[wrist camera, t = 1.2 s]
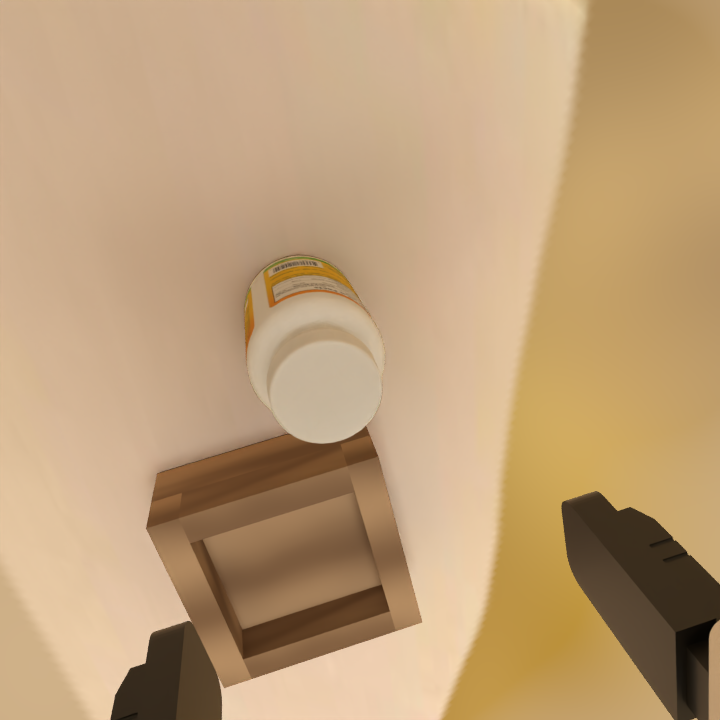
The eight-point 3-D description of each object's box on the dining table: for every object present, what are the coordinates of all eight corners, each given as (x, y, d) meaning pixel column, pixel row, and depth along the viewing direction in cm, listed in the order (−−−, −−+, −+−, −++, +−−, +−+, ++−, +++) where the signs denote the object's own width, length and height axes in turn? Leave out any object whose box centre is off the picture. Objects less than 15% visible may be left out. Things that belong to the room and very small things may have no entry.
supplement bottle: (306, 378, 32) (334, 487, 23) (220, 316, 30) (214, 409, 21) (376, 299, 31) (434, 382, 22) (293, 229, 29) (319, 288, 20)
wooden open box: (157, 473, 32) (146, 528, 28) (360, 412, 33) (378, 456, 29) (225, 622, 37) (224, 688, 33) (401, 565, 38) (422, 622, 34)
